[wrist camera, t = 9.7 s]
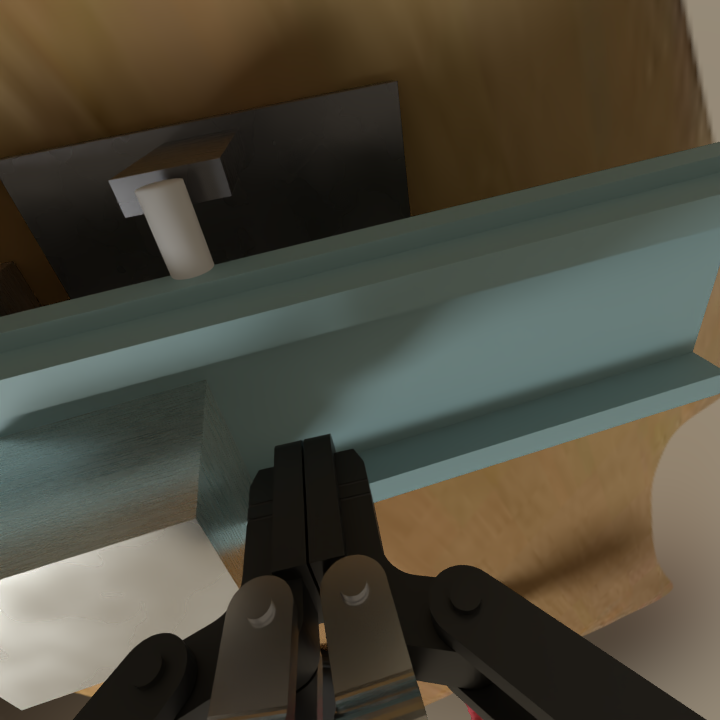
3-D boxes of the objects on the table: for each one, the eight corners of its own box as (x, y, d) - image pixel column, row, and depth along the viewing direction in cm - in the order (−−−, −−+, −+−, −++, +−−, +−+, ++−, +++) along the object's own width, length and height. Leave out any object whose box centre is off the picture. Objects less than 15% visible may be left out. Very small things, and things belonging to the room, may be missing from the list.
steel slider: (-9, 440, 12) (-126, 618, 8) (205, 379, 13) (195, 518, 9) (77, 537, 15) (21, 709, 11) (253, 482, 16) (262, 627, 12)
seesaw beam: (-357, 266, 14) (-942, 457, 7) (603, 61, 18) (847, 52, 11) (-63, 525, 22) (-203, 742, 15) (568, 342, 26) (699, 445, 19)
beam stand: (-200, 198, 18) (-484, 277, 11) (391, 80, 19) (454, 89, 12) (21, 459, 26) (-66, 592, 20) (421, 370, 27) (467, 469, 20)
